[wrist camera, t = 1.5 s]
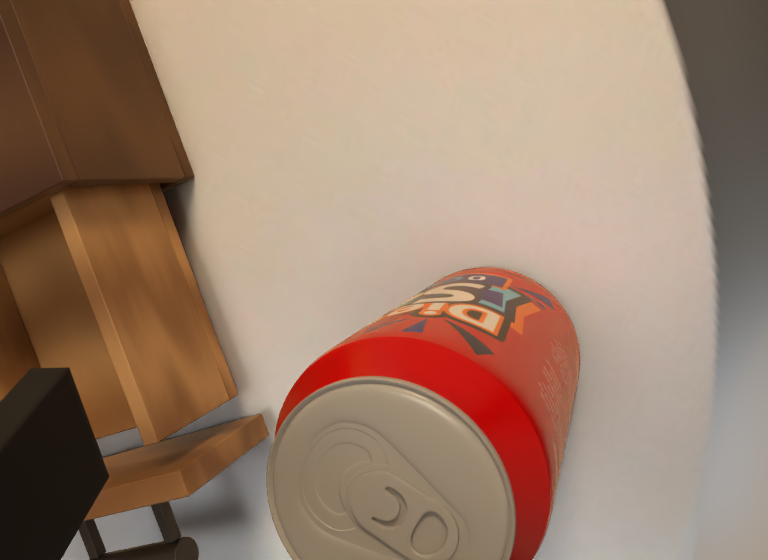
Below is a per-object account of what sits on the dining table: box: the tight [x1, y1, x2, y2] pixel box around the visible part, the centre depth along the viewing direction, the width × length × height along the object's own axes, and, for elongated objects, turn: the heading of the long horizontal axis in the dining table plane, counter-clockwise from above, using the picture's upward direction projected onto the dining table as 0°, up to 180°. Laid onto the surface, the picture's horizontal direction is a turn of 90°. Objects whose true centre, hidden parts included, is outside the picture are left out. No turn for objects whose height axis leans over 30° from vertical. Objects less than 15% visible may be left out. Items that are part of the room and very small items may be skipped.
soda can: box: [267, 267, 580, 560], centre depth 23 cm, size 8×8×15 cm
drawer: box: [0, 183, 269, 560], centre depth 33 cm, size 20×13×7 cm
